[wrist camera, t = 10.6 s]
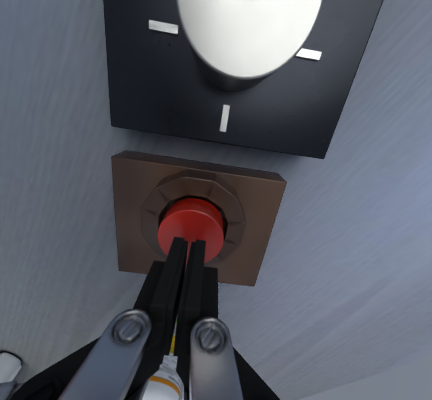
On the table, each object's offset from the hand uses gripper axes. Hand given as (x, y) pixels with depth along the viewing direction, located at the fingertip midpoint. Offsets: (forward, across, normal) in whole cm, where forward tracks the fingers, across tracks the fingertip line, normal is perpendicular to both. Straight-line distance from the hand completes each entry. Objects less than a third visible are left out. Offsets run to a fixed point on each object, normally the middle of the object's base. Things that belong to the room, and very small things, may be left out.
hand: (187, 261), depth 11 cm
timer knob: (+4, -1, -11) cm, 11 cm away
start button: (+3, 0, 0) cm, 3 cm away
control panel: (+7, -1, -11) cm, 13 cm away
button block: (+7, 0, +1) cm, 7 cm away
